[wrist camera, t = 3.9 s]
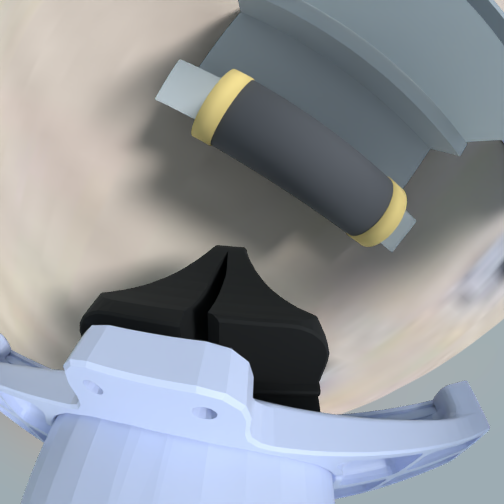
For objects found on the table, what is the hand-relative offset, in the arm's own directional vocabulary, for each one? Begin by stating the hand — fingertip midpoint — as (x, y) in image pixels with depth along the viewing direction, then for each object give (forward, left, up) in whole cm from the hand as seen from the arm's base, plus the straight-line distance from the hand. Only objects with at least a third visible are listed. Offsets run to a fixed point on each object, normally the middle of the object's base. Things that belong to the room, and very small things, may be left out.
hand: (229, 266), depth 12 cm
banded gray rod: (0, -6, 0) cm, 6 cm away
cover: (0, -13, +2) cm, 13 cm away
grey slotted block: (0, -9, -5) cm, 10 cm away
